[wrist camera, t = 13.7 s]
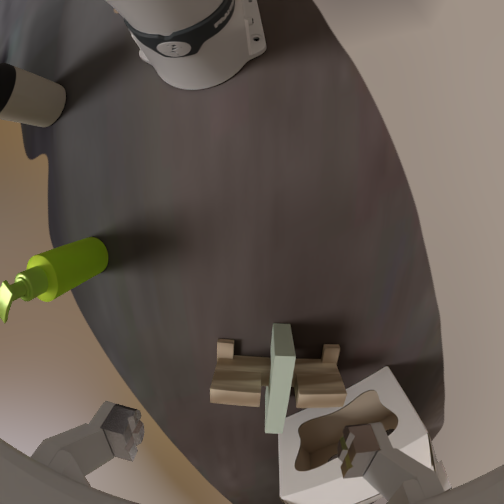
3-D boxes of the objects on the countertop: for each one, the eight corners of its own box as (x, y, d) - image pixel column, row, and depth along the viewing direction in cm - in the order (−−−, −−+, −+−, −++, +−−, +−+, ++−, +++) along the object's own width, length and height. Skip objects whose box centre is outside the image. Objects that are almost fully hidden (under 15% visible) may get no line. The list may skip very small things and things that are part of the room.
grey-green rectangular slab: (273, 323, 42) (274, 355, 33) (290, 324, 42) (295, 356, 33) (265, 395, 45) (264, 432, 36) (280, 396, 44) (282, 433, 36)
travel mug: (69, 114, 36) (-9, 92, 19) (37, 135, 37) (-38, 125, 19) (65, 76, 35) (-4, 46, 17) (34, 98, 35) (-35, 80, 18)
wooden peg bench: (218, 338, 43) (208, 372, 34) (338, 344, 42) (353, 377, 33) (218, 379, 44) (209, 415, 35) (329, 384, 44) (340, 420, 35)
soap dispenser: (71, 260, 41) (-16, 300, 22) (90, 229, 40) (-5, 257, 20) (94, 285, 42) (12, 338, 22) (114, 254, 41) (25, 299, 21)
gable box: (388, 363, 43) (461, 488, 15) (406, 405, 45) (462, 511, 17) (275, 421, 46) (278, 557, 18) (307, 454, 48) (320, 568, 20)
